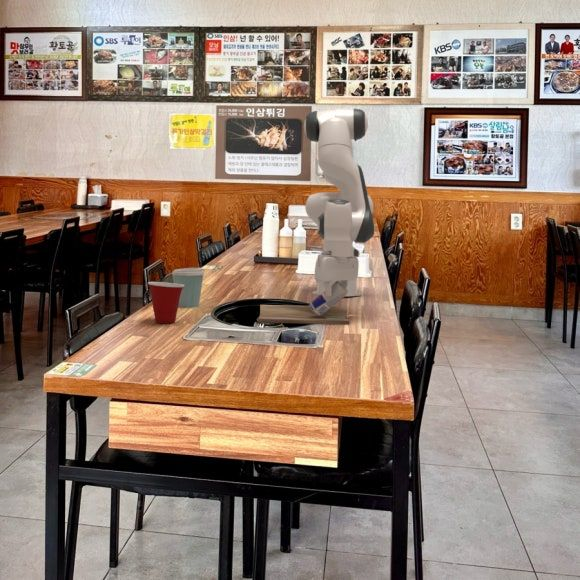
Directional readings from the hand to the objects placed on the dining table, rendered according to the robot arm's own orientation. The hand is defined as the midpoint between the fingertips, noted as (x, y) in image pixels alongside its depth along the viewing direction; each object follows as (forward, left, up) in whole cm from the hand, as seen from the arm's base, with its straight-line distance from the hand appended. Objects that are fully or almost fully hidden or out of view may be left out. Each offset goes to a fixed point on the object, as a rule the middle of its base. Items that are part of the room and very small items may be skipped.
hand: (336, 295), depth 206 cm
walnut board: (0, -10, -8) cm, 13 cm away
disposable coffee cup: (-14, -49, -9) cm, 52 cm away
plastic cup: (+10, -51, -9) cm, 53 cm away
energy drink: (-1, -7, -5) cm, 9 cm away
